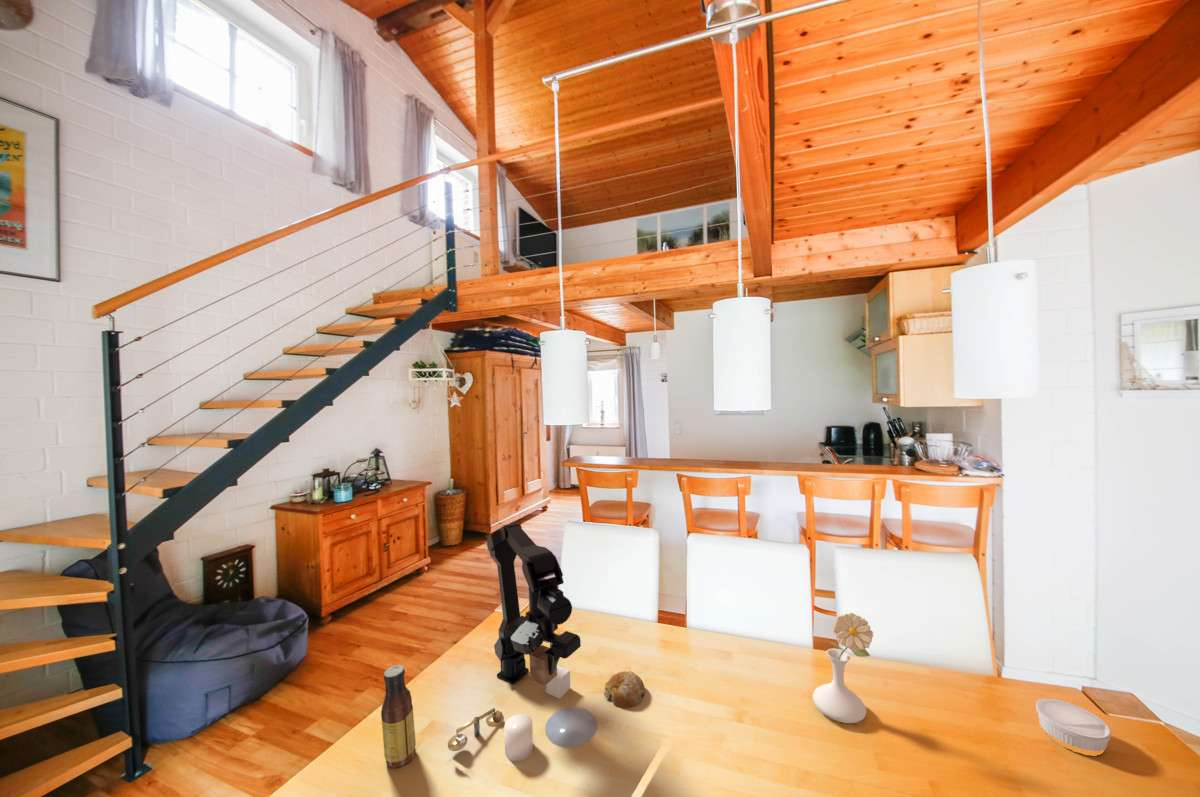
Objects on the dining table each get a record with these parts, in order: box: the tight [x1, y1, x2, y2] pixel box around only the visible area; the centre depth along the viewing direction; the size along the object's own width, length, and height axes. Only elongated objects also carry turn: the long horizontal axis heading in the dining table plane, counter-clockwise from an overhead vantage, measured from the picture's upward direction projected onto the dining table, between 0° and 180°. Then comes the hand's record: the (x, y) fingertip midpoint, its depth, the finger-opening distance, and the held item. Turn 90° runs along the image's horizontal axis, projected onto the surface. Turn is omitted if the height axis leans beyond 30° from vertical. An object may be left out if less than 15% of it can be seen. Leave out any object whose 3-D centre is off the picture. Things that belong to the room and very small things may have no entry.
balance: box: [447, 707, 504, 752], centre depth 99 cm, size 15×4×6 cm, turn 148°
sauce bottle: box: [380, 664, 417, 768], centre depth 95 cm, size 6×6×20 cm
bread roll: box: [603, 670, 646, 709], centre depth 111 cm, size 10×10×8 cm
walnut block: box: [528, 644, 557, 687], centre depth 104 cm, size 4×4×6 cm
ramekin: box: [1035, 698, 1112, 751], centre depth 95 cm, size 11×11×5 cm
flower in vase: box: [811, 612, 874, 724], centre depth 104 cm, size 13×11×25 cm
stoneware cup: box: [503, 713, 534, 762], centre depth 95 cm, size 6×6×7 cm
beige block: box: [545, 664, 571, 699], centre depth 113 cm, size 4×4×6 cm
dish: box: [544, 706, 598, 749], centre depth 101 cm, size 12×12×1 cm
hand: (543, 670), depth 104 cm, fingers closed on walnut block, 4 cm apart
